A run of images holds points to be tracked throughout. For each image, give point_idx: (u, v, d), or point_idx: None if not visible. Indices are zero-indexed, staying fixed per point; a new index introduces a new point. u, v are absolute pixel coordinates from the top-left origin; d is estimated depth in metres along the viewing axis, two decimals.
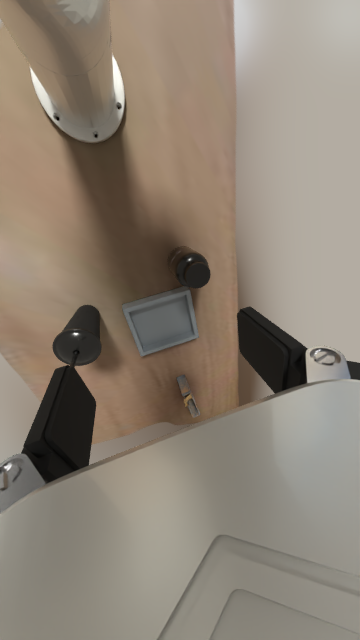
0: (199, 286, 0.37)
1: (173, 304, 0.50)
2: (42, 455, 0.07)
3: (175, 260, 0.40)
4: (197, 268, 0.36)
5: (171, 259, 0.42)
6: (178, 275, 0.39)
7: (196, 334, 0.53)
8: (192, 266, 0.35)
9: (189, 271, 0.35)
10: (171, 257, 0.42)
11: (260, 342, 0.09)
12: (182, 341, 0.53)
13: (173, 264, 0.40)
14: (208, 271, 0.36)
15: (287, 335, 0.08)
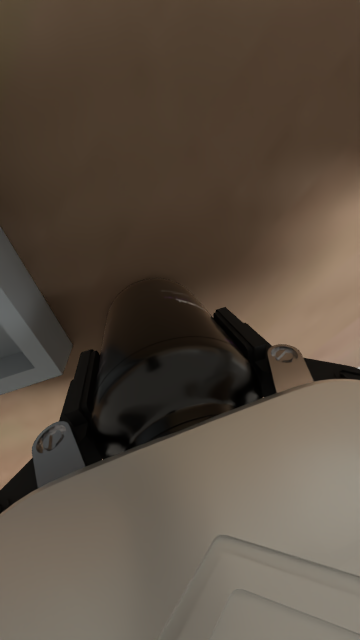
0: None
1: None
2: (79, 424, 0.08)
3: (210, 323, 0.08)
4: None
5: (183, 296, 0.11)
6: (166, 370, 0.06)
7: None
8: None
9: None
10: (187, 294, 0.11)
11: None
12: None
13: (189, 315, 0.08)
14: None
15: (253, 334, 0.09)
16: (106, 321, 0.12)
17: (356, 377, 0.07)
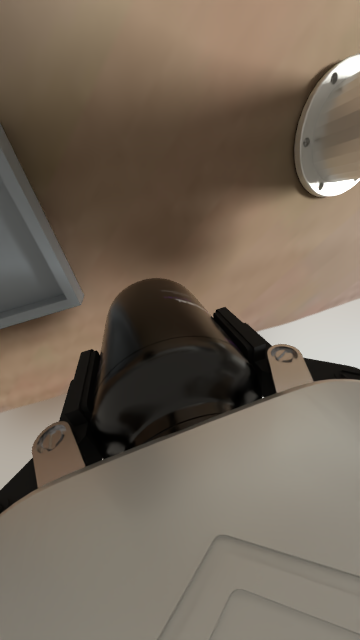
0: None
1: (31, 271, 0.21)
2: (79, 424, 0.08)
3: (210, 323, 0.09)
4: None
5: (183, 296, 0.11)
6: (166, 370, 0.06)
7: None
8: None
9: None
10: (187, 294, 0.11)
11: None
12: None
13: (189, 314, 0.09)
14: None
15: (253, 334, 0.09)
16: (106, 321, 0.12)
17: (356, 377, 0.07)
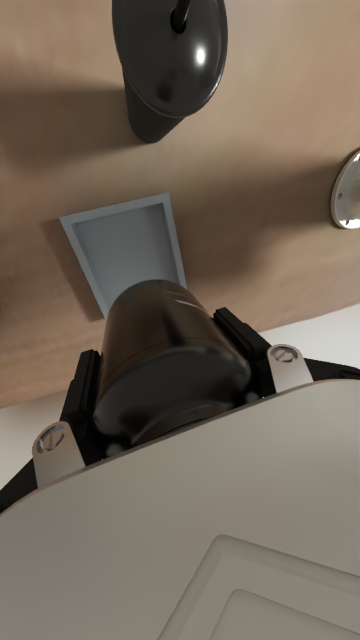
0: None
1: None
2: (79, 424, 0.08)
3: (210, 324, 0.08)
4: None
5: (184, 297, 0.11)
6: (166, 372, 0.06)
7: None
8: None
9: None
10: (187, 295, 0.11)
11: None
12: (99, 299, 0.30)
13: (190, 316, 0.08)
14: None
15: (253, 334, 0.09)
16: (106, 322, 0.12)
17: (356, 377, 0.07)
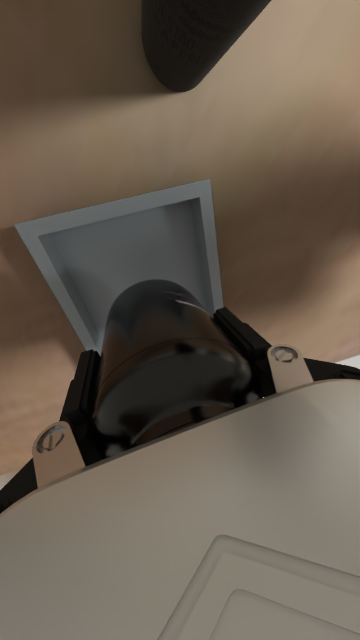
0: None
1: None
2: (79, 424, 0.08)
3: (210, 324, 0.08)
4: None
5: (184, 297, 0.11)
6: (166, 372, 0.06)
7: None
8: None
9: None
10: (187, 295, 0.11)
11: None
12: None
13: (190, 316, 0.08)
14: None
15: (253, 334, 0.09)
16: (106, 322, 0.12)
17: (356, 377, 0.07)
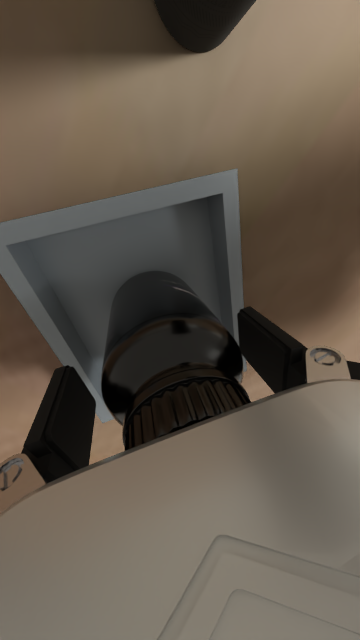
0: None
1: None
2: (42, 455, 0.07)
3: (201, 306, 0.10)
4: None
5: (180, 285, 0.12)
6: (163, 337, 0.07)
7: None
8: None
9: None
10: (183, 284, 0.13)
11: (260, 342, 0.09)
12: None
13: (184, 299, 0.10)
14: None
15: (287, 335, 0.08)
16: (111, 307, 0.13)
17: None
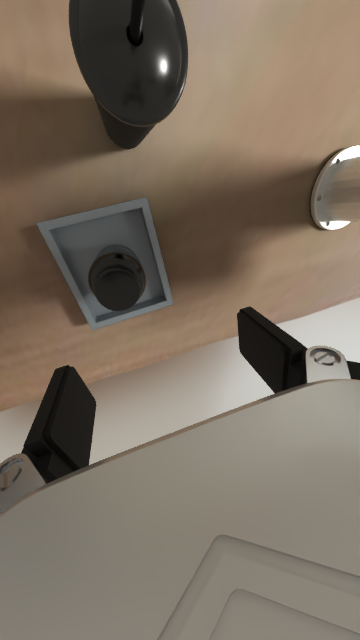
0: (98, 295, 0.21)
1: None
2: (42, 455, 0.07)
3: (128, 253, 0.25)
4: (130, 288, 0.22)
5: (124, 248, 0.27)
6: (108, 257, 0.22)
7: (98, 325, 0.33)
8: (133, 279, 0.21)
9: (124, 274, 0.21)
10: (127, 249, 0.28)
11: (260, 342, 0.09)
12: (81, 304, 0.30)
13: (121, 250, 0.25)
14: (126, 306, 0.22)
15: (287, 335, 0.08)
16: None
17: None
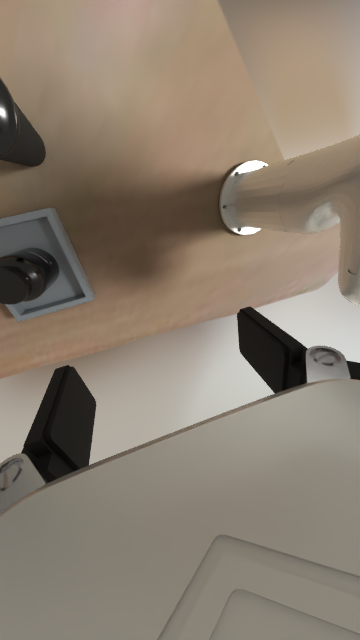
0: None
1: (66, 281, 0.38)
2: (42, 455, 0.07)
3: (29, 255, 0.30)
4: (17, 285, 0.26)
5: (33, 251, 0.32)
6: (2, 259, 0.27)
7: (22, 317, 0.37)
8: (17, 278, 0.26)
9: (8, 274, 0.25)
10: (37, 251, 0.33)
11: (260, 342, 0.09)
12: None
13: (23, 253, 0.30)
14: (17, 301, 0.27)
15: (287, 335, 0.08)
16: None
17: None
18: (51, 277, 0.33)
